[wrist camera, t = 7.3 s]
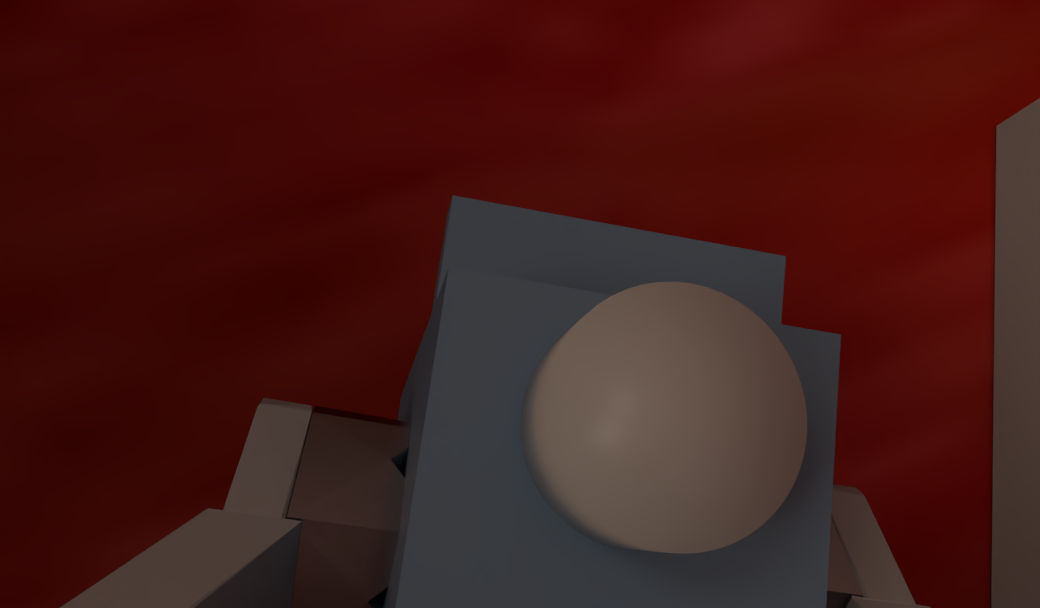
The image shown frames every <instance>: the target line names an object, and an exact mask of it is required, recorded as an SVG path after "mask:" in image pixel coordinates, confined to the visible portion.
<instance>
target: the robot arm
mask: <svg viewBox="0 0 1040 608" xmlns="http://www.w3.org/2000/svg"><path fill="white" fill-rule="evenodd" d="M410 435H411V422H406V421H400V420H394V419H389V418H383V417H377V416H371V415H366V414H360V413H354V412H348V411H343V410H337V409H331V408H325V407H320V406H315V408H314V407H312V406H311V405H305V404H299V403H293V402H287V401H280V400H274V399H268V398H264V399H263V400H262V401H261V403H260V404H259V405H258V407H257V410H256V413H255V416H254V419H253V422H252V425H251V428H250V431H249V434H248V437H247V440H246V443H245V446H244V449H243V452H242V455H241V458H240V461H239V464H238V467H237V470H236V473H235V476H234V479H233V482H232V485H231V488H230V491H229V494H228V497H227V500H226V503H225V506H224V509H223V510H217V509H206V510H204V511H203V512H201V513H200V514H198V515H197V516H195V517H194V518H192V519H191V520H189V521H188V522H186V523H185V524H183V525H182V526H180V527H179V528H178V529H176V530H175V531H173V532H172V533H170V534H169V535H167V536H166V537H164V538H163V539H161V540H160V541H158V542H157V543H155V544H154V545H152V546H151V547H149V548H148V549H146V550H145V551H143V552H142V553H140V554H139V555H137V556H136V557H134V558H133V559H131V560H130V561H128V562H127V563H125V564H124V565H122V566H121V567H120V568H118V569H117V570H115V571H114V572H112V573H111V574H109V575H108V576H106V577H105V578H103V579H102V580H100V581H99V582H97V583H96V584H94V585H93V586H91V587H90V588H88V589H87V590H85V591H84V592H82V593H81V594H79V595H78V596H76V597H75V598H73V599H72V600H70V601H69V602H67V603H66V604H64V605H63V606H62V607H60V608H383V604H384V596H385V589H386V588H387V587H388V586H389V581H390V576H391V572H392V567H393V562H394V557H395V552H396V547H397V542H398V537H399V532H400V524H401V515H402V506H403V497H404V488H405V477H404V476H403V475H404V470H405V465H406V460H407V455H408V450H409V444H410ZM826 608H931V607H928V606H921V605H916V603H915V601H914V599H913V597H912V595H911V593H910V591H909V588H908V586H907V584H906V582H905V580H904V578H903V576H902V574H901V572H900V569H899V567H898V565H897V563H896V561H895V559H894V557H893V555H892V553H891V550H890V548H889V546H888V544H887V542H886V540H885V538H884V536H883V534H882V532H881V529H880V527H879V525H878V523H877V521H876V519H875V517H874V515H873V513H872V510H871V508H870V506H869V504H868V502H867V500H866V498H865V496H864V494H863V493H861V492H860V491H859V490H858V489H857V488H855V487H850V486H842V485H834V484H833V491H832V509H831V528H830V546H829V565H828V583H827V602H826Z"/></svg>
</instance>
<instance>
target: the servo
mask: <svg viewBox="0 0 1040 608" xmlns="http://www.w3.org/2000/svg"><path fill="white" fill-rule="evenodd" d="M785 261H786V256H781V255H776V254H770V253H765V252H759V251H754V250H748V249H743V248H738V247H732V246H727V245H721V244H716V243H710V242H705V241H699V240H694V239H688V238H683V237H677V236H672V235H666V234H661V233H655V232H650V231H644V230H639V229H634V228H628V227H623V226H617V225H612V224H606V223H601V222H595V221H590V220H584V219H579V218H573V217H568V216H562V215H557V214H551V213H546V212H540V211H535V210H530V209H524V208H519V207H513V206H508V205H502V204H497V203H491V202H486V201H480V200H475V199H469V198H464V197H458V196H453V197H452V200H451V203H450V206H449V210H448V214H447V220H446V226H445V233H444V239H443V245H442V251H441V258H440V264H439V270H438V277H437V283H436V289H435V295H434V302H433V308H432V314H431V317H430V319H429V322H428V325H427V327H426V330H425V333H424V336H423V338H422V341H421V344H420V346H419V349H418V352H417V355H416V357H415V360H414V363H413V365H412V368H411V371H410V373H409V376H408V379H407V382H406V384H405V387H404V390H403V392H402V396H401V402H400V408H399V414H398V420H400V421H406V422H411V435H410V444H409V450H408V455H407V460H406V465H405V470H404V475H403V476H404V477H405V488H404V497H403V506H402V515H401V524H400V532H399V537H398V542H397V547H396V552H395V557H394V562H393V567H392V572H391V576H390V581H389V586H388V587H387V588H386V589H385V596H384V604H383V608H826V602H827V583H828V565H829V546H830V528H831V509H832V491H833V472H834V454H835V435H836V417H837V398H838V380H839V361H840V343H841V335H840V334H834V333H828V332H823V331H817V330H811V329H805V328H799V327H794V326H788V325H782V324H781V318H782V304H783V289H784V275H785Z"/></svg>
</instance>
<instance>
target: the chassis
mask: <svg viewBox="0 0 1040 608" xmlns="http://www.w3.org/2000/svg"><path fill="white" fill-rule="evenodd" d="M991 608H1040V98H1039V99H1038V100H1036V101H1035V102H1033V103H1032V104H1030V105H1028V106H1027V107H1025V108H1024V109H1022V110H1021V111H1019V112H1018V113H1016V114H1014V115H1013V116H1011V117H1010V118H1008V119H1007V120H1005V121H1004V122H1002V123H1000V124H999V125H997V130H996V220H995V310H994V400H993V490H992V580H991Z"/></svg>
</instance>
